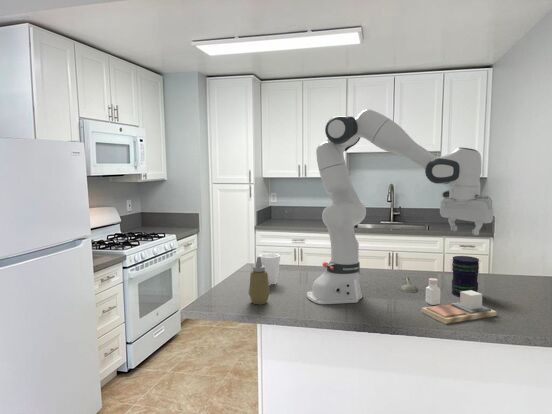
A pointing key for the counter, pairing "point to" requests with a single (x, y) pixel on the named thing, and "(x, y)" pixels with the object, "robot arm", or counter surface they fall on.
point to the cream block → (471, 299)
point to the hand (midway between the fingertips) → (464, 232)
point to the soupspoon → (409, 287)
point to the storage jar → (464, 274)
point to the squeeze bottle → (259, 284)
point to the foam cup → (271, 266)
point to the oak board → (457, 312)
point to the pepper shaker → (433, 292)
